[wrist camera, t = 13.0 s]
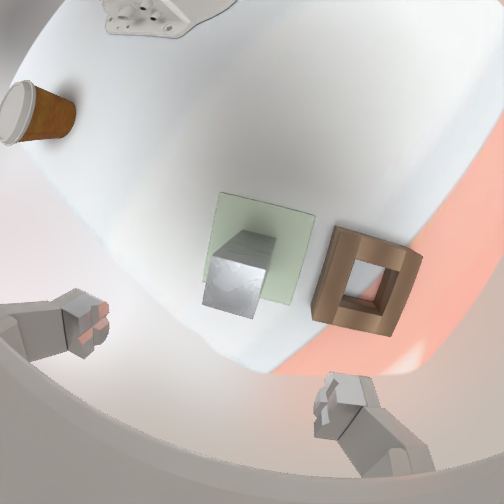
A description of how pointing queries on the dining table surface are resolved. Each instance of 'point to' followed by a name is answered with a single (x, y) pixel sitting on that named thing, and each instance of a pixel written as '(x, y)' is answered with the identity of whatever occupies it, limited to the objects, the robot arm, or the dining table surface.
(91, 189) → the dining table surface
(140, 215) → the dining table surface
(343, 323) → the socket block
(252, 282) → the peg
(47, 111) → the disposable coffee cup
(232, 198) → the mat
